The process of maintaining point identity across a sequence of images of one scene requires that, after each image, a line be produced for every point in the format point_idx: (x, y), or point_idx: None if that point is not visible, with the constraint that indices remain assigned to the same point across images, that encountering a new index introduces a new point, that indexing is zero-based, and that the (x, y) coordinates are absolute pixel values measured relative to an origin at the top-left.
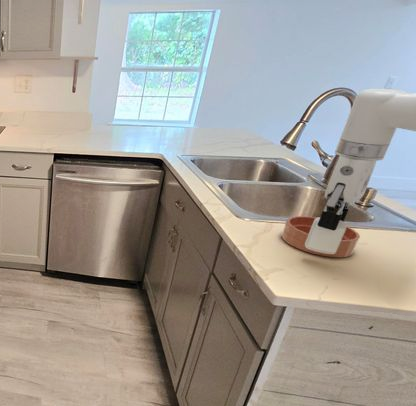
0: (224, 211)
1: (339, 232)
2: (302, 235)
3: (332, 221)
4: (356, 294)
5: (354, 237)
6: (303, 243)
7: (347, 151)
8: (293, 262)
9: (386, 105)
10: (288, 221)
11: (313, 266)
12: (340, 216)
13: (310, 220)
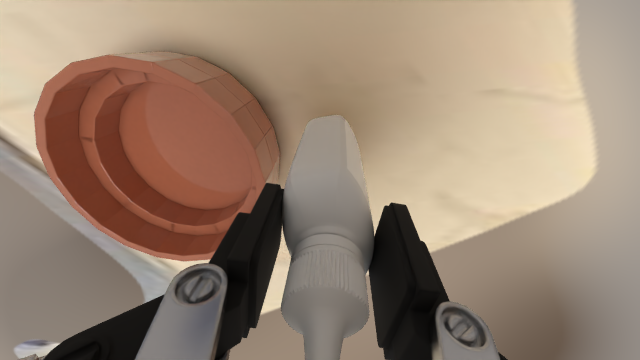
0: None
1: (358, 171)
2: None
3: (434, 267)
4: (500, 7)
5: (105, 70)
6: None
7: None
8: (374, 179)
9: None
10: (198, 257)
11: (363, 136)
12: (435, 282)
13: (97, 205)
